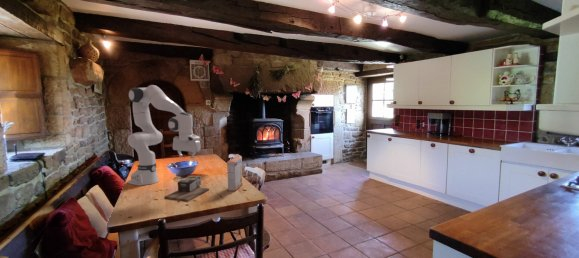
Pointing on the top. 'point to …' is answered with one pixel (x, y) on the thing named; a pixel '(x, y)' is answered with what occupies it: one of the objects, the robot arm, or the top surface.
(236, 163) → the cracker box
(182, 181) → the coffee box
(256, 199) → the top surface
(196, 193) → the walnut board
